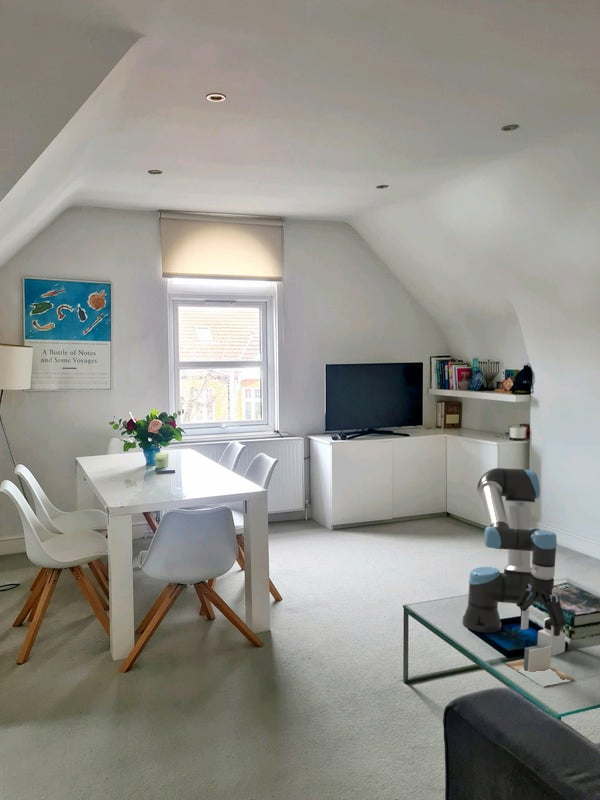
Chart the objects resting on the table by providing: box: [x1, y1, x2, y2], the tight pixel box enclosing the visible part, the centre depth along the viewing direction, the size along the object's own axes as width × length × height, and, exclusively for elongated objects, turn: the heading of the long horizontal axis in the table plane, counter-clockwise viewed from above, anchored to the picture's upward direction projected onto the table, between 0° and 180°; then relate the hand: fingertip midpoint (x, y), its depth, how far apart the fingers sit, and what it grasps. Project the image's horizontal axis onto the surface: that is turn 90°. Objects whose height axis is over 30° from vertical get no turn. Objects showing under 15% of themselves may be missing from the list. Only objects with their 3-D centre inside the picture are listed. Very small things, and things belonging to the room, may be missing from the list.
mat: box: [504, 658, 576, 682], centre depth 224 cm, size 18×14×1 cm
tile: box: [523, 644, 552, 672], centre depth 225 cm, size 2×10×8 cm, turn 115°
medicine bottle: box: [536, 616, 567, 657], centre depth 242 cm, size 7×7×12 cm
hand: (538, 636), depth 225 cm, fingers open, 13 cm apart
